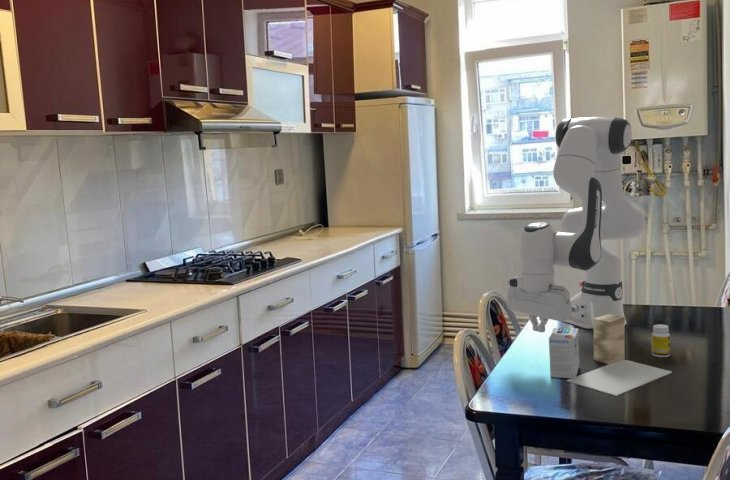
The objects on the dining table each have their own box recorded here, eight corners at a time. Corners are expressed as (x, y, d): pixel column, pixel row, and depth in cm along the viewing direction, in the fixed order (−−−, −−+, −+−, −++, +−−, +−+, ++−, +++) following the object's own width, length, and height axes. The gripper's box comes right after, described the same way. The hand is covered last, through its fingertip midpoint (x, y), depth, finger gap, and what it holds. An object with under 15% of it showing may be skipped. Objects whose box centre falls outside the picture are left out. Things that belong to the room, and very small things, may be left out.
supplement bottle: (671, 357, 188) (671, 328, 187) (653, 357, 189) (653, 328, 188) (667, 352, 193) (667, 323, 192) (650, 352, 194) (650, 323, 193)
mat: (566, 381, 175) (566, 380, 175) (623, 360, 188) (623, 359, 188) (616, 396, 163) (616, 395, 163) (672, 372, 177) (672, 371, 177)
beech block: (593, 360, 190) (593, 318, 188) (609, 354, 194) (608, 313, 192) (609, 364, 186) (608, 321, 184) (624, 358, 190) (624, 317, 188)
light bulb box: (554, 365, 188) (553, 327, 186) (580, 366, 185) (578, 327, 184) (549, 377, 178) (548, 337, 177) (576, 378, 175) (574, 338, 174)
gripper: (576, 285, 179) (577, 336, 181) (517, 275, 195) (519, 322, 197) (561, 289, 175) (561, 341, 177) (502, 279, 192) (503, 326, 194)
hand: (538, 331), depth 187 cm, fingers closed
